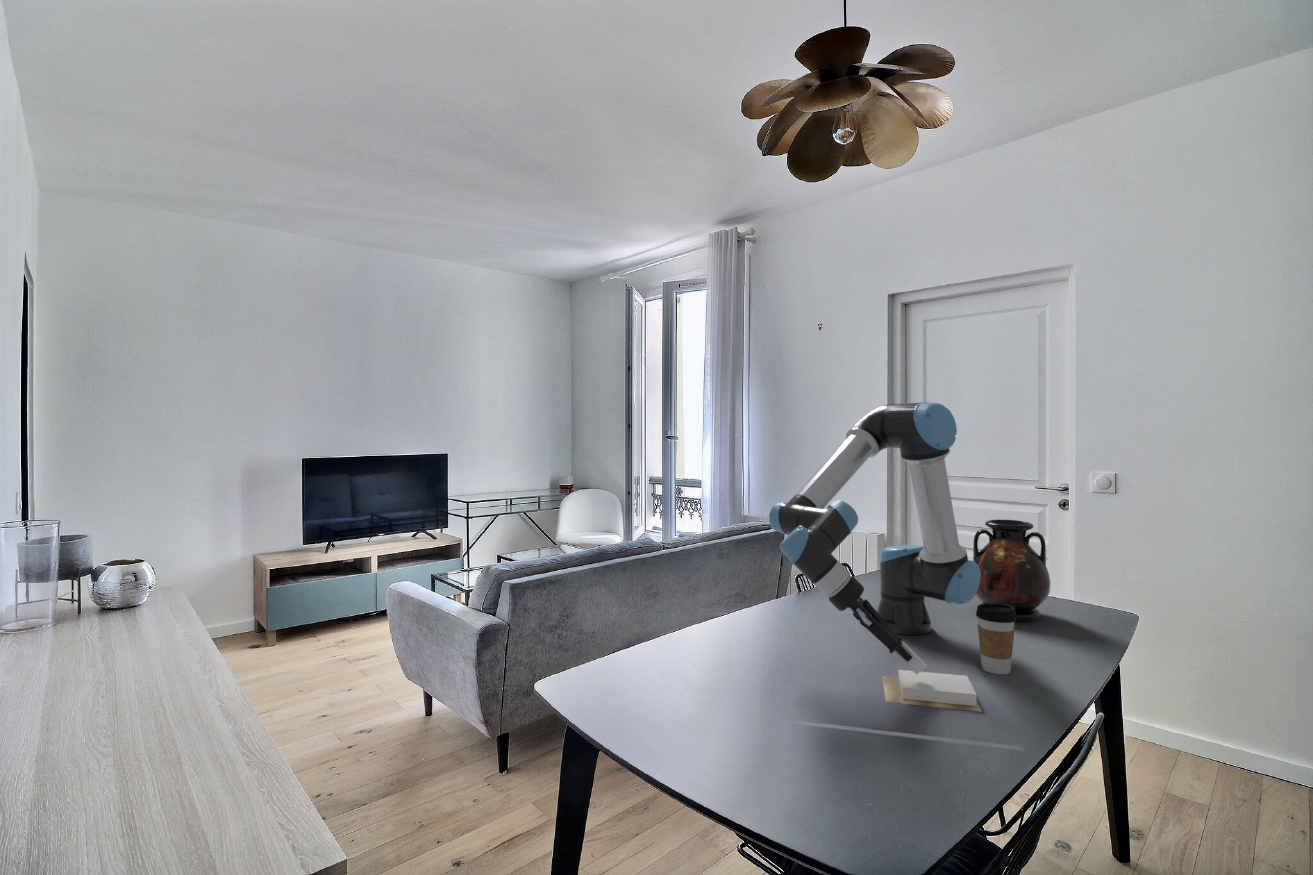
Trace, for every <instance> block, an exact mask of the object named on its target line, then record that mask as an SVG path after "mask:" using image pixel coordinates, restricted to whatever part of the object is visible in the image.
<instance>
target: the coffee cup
mask: <svg viewBox="0 0 1313 875" xmlns="http://www.w3.org/2000/svg"><path fill="white" fill-rule="evenodd" d="M976 608H977V609H976V612H975V616H976V618H977V621H978V623H977V631H978V641H979V642H978V644H979V652H980V660H981V669H982V670H983V671H985V672H986V673H990V674H994V675H1001V676H1002V675H1008V674H1010V673H1011V670H1012V669H1011V667H1012V666H1011V665H1012V657H1013V648H1014V638H1015V630H1016V628H1015V622H1017V621H1016V613H1015V607H1013V606H1011V605H1007V604H981V605H979V604H978V605H977V607H976Z"/></svg>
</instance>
